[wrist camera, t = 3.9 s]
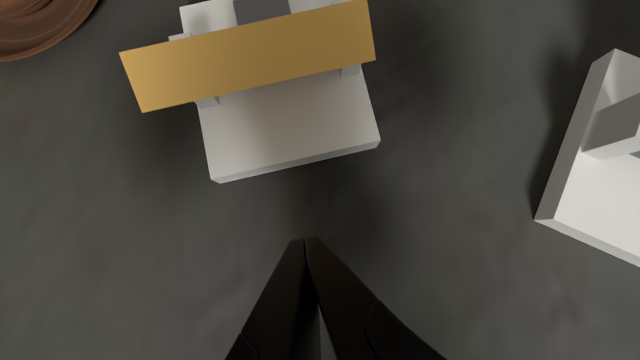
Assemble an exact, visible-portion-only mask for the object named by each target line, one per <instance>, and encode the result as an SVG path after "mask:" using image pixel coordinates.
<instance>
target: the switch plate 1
mask: <svg viewBox="0 0 640 360" xmlns="http://www.w3.org/2000/svg"><path fill="white" fill-rule="evenodd" d="M347 1H352V0H210V1H205V2H201V3H196V4H192V5H187V6H183V7H179V9H180V15H181V20H182V25H183V31H184V33H183V34H178V35H174V36H169V41H173V40H177V39H182V38H186V37H191V36H195V35H199V34H204V33H208V32H213V31H217V30H222V29H226V28H231V27H235V26H240V25H244V24H249V23H253V22H258V21H262V20H267V19H271V18H276V17H280V16H285V15H289V14H294V13H298V12H303V11H307V10H312V9H316V8H321V7H325V6H330V5H334V4H338V3H343V2H347ZM194 102H195V103H196V104H197V107H198V113H199V118H200V123H201V129H202V134H203V140H204V145H205V151H206V156H207V162H208V167H209V173H210V178H211V180H213V181H216V182H218V183H220V184H221V183H226V182H230V181H234V180H239V179H243V178H247V177H252V176H256V175H260V174H265V173H269V172H273V171H278V170H282V169H286V168H290V167H295V166H299V165H303V164H308V163H312V162H316V161H321V160H325V159H329V158H334V157H338V156H342V155H347V154H351V153H355V152H360V151H364V150H368V149H373V148H376V147H377V146H378V144H379V142H380V141H381V139H380V135H379V131H378V128H377V124H376V120H375V117H374V113H373V109H372V105H371V102H370V98H369V94H368V91H367V87H366V83H365V79H364V76H363V72H362V68H361V64H356V65H352V66H347V67H343V68H339V69H334V70H330V71H325V72H321V73H316V74H312V75H308V76H303V77H299V78H294V79H290V80H286V81H281V82H277V83H272V84H268V85H263V86H259V87H255V88H250V89H246V90H241V91H237V92H233V93H228V94H224V95H219V96H215V97H210V98H206V99H202V100H197V101H194Z"/></svg>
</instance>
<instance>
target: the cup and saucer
mask: <svg viewBox="0 0 640 360" xmlns="http://www.w3.org/2000/svg"><path fill="white" fill-rule="evenodd" d="M97 2H98V0H0V62H4V61H12V60H17V59H22V58H25V57H29V56H32V55H34V54H37V53H40V52H42V51H44V50H46V49H48V48H50V47H52V46H54V45H56V44H57V43H59V42H61V41H62V40H64V39H65V38H66V37H68V36H69V35H70V34H72V33H73V32H74V31H75V30H76V29H77V28H78V27H79V26H80V25H81V24H82V23H83V22H84V21H85V20H86V18H87V17H88V16H89V14H90V13H91V12H92V10H93V9H94V7H95V5H96V3H97Z"/></svg>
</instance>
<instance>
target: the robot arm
mask: <svg viewBox="0 0 640 360" xmlns="http://www.w3.org/2000/svg"><path fill="white" fill-rule="evenodd" d="M318 304H319V307H318ZM319 308H320V311H321V314H322V317H323V320H324V323H325V326H326V329H327V332H328V335H329V338H330V342H331V345H332V348H333V351H334V354H335V357H336V360H447V359H445V358H444V357H443V356H442V355H440V354H439V353H438V352H437V351H436V350H434V349H433V348H432V347H431V346H429V345H428V344H427V343H426V342H424V341H423V340H422V339H421V338H420V337H418V336H417V335H416V334H415V333H414V332H413V331H411V330H410V329H409V328H408V327H407V326H406V325H404V324H403V323H402V322H401V321H400V320H399V319H398V318H397V317H396V316H395V315H394V314H393V313H392V312H391V311H390V310H389V309H388V308H387V307H386V306H385V305H384V304H383V303H382V302H381V301H380V300H378V298H377V297H376V296H375V295H374V294H373V293H372V292H371V290H370V289H369V288H368V287H367V286H366V285H365V284H364V283H363V282H362V281H361V280H360V279H359V278H358V277H357V276H356V275H355V273H354V272H353V271H352V270H351V269H350V268H349V267H348V266H347V265H346V264H345V263H344V262H343V261H342V260H341V259H340V258H339V256H338V255H337V254H336V253H335V252H334V251H333V250H332V249H331V248H330V247H329V246H328V245H327V244H326V243H325V242H324V241H323V240H322V238H321V237H320V236H319V235H317V234H315V235H311V236H307V237H305V239H304V238H298V239H294V240H291V241H290V242H289V244H288V246H287V248H286V249H285V251H284V253H283V255H282V257H281V259H280V260H279V262H278V264H277V266H276V268H275V270H274V271H273V273H272V275H271V277H270V279H269V281H268V283H267V284H266V286H265V288H264V290H263V292H262V294H261V295H260V297H259V299H258V301H257V303H256V305H255V306H254V308H253V310H252V312H251V314H250V316H249V318H248V319H247V321H246V323H245V325H244V327H243V329H242V330H241V333H240V334H239V335H238V337H237V339H236V341H235V342H234V344H233V346H232V348H231V349H230V351H229V353H228V355H227V356H226V358H225V360H321V350H320V326H319Z"/></svg>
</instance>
